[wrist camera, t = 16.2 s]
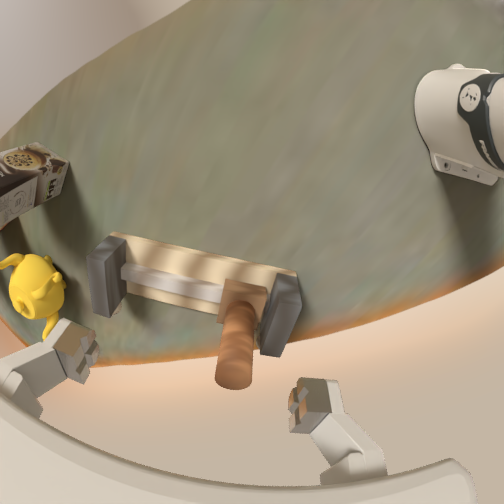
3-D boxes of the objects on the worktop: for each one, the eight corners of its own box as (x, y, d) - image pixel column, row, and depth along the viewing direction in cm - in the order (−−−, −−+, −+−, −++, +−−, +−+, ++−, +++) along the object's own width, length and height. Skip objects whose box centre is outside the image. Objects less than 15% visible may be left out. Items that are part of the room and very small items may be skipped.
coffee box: (70, 160, 34) (-4, 190, 19) (60, 194, 36) (-7, 234, 22) (37, 140, 32) (-34, 162, 17) (29, 172, 34) (-36, 203, 20)
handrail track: (298, 272, 41) (306, 307, 33) (279, 323, 46) (281, 360, 38) (111, 230, 39) (83, 255, 31) (113, 285, 44) (91, 314, 36)
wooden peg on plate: (266, 283, 40) (267, 368, 26) (257, 314, 43) (254, 397, 29) (226, 275, 40) (208, 357, 26) (219, 306, 42) (203, 388, 28)
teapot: (97, 307, 47) (70, 347, 36) (58, 317, 49) (33, 350, 39) (46, 218, 38) (5, 246, 28) (13, 243, 41) (-20, 269, 31)
